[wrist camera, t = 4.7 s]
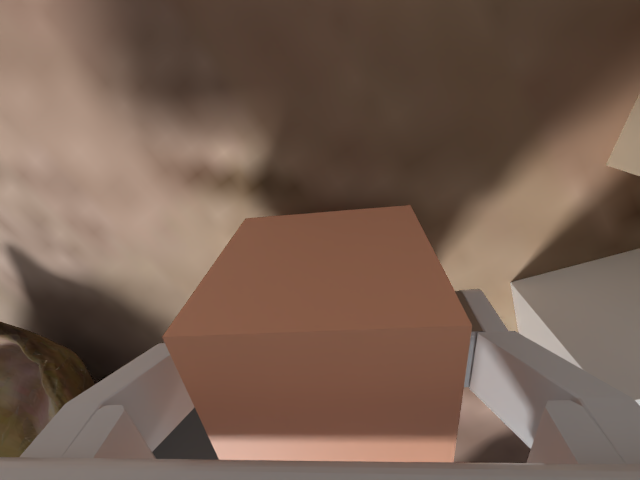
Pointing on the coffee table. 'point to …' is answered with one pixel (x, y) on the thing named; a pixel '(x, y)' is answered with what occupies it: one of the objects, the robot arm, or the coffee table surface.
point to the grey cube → (587, 317)
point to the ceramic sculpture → (34, 385)
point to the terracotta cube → (326, 341)
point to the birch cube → (628, 144)
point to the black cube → (187, 441)
